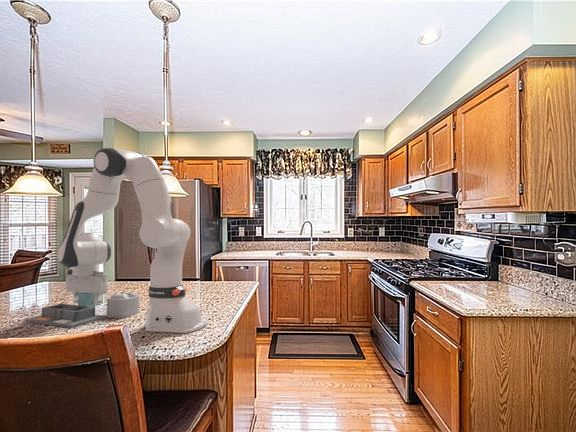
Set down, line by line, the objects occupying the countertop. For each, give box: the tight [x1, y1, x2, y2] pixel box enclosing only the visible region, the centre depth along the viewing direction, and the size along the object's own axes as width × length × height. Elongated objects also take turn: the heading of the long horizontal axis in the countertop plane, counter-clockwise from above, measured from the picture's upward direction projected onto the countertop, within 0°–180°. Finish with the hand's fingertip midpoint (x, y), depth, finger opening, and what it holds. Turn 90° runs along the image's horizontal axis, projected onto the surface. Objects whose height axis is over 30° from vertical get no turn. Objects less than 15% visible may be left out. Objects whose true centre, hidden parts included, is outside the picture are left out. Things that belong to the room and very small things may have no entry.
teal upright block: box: [77, 293, 96, 308], centre depth 145 cm, size 4×4×8 cm
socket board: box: [24, 303, 106, 329], centre depth 131 cm, size 24×14×4 cm, turn 70°
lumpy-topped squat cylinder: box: [106, 291, 141, 319], centre depth 142 cm, size 10×13×9 cm
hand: (86, 303), depth 145 cm, fingers open, 8 cm apart
